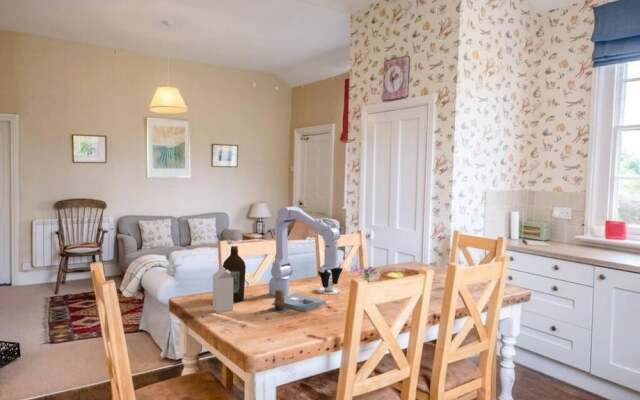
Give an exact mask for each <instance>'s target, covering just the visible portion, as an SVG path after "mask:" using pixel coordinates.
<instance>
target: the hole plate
mask: <svg viewBox="0 0 640 400" xmlns="http://www.w3.org/2000/svg"><path fill="white" fill-rule="evenodd" d="M273 304H274V305H275V299H274V300H273ZM324 305H327V299H322V298H317V297H313V296H309V295H304V294H300V293H293V294H292V293H291V294H290V295H288V296H285V297H284V307H287V308H291V309H292V310H293V309H294V310H297V311H300V312H301V311H302V312H306V313H307V312H309V311H311V310H314V309H317V308H319V307H321V306H324Z"/></svg>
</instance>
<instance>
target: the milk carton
mask: <svg viewBox="0 0 640 400" xmlns="http://www.w3.org/2000/svg"><path fill="white" fill-rule="evenodd" d="M225 270H226V269H225V268H224V267H223V265H220V268H219V269H218V270H217V271H216V272H215V273H214V274H212V312H213V311H214V314H216V315H220V313H222V312H224V313H225V312H231V311H234V302H233V277H232V276H231V275H229V274H230V273H231V272H230V271H229V270H226V271H225Z"/></svg>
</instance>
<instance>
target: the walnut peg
mask: <svg viewBox="0 0 640 400" xmlns="http://www.w3.org/2000/svg"><path fill="white" fill-rule="evenodd" d="M274 300H275V304H274V307H275V310H277V311H282V310H284V307H285V306H284V290H275V296H274Z"/></svg>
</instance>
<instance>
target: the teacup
mask: <svg viewBox="0 0 640 400" xmlns="http://www.w3.org/2000/svg"><path fill="white" fill-rule="evenodd" d="M320 284H321V285H322V286H323V284H322V280H321V279H320ZM335 285H336V284H333V283H332V277H329V283H328V288H325V287H320V288H317V289H316V291H317V293H319V294H322V295H323V294H324V295H337V294H340V293H341V289H339V288H337V287H335Z"/></svg>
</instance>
